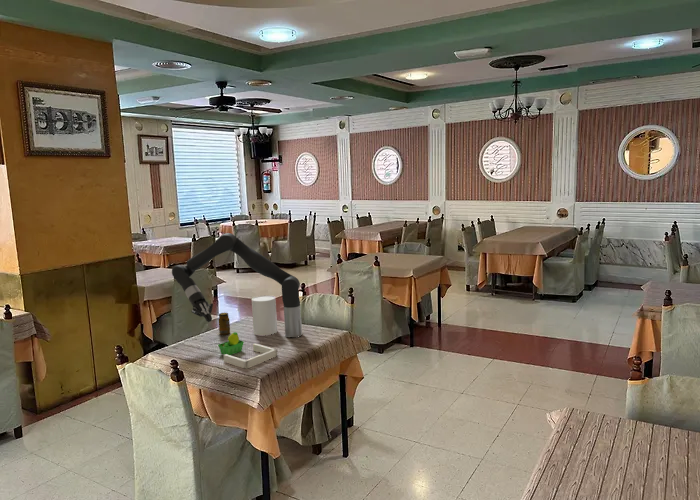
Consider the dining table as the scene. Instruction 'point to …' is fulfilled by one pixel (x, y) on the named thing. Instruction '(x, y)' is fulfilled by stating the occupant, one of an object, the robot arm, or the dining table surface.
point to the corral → (245, 364)
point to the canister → (264, 315)
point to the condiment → (224, 325)
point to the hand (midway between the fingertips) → (210, 320)
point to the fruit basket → (231, 345)
